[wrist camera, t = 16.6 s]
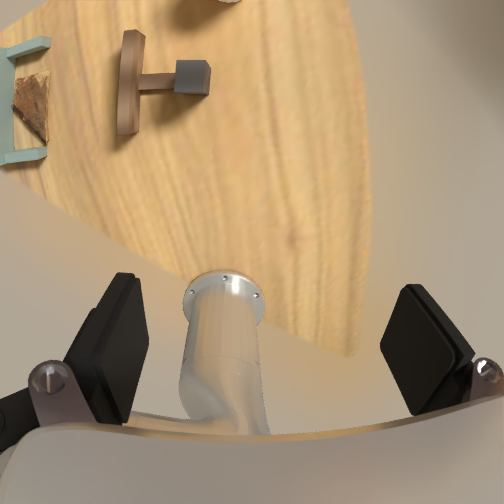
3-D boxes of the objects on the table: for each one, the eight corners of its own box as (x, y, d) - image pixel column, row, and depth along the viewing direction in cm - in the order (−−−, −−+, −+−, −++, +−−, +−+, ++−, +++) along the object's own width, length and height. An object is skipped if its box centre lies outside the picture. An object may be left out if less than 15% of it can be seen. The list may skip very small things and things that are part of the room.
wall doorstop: (206, 131, 35) (200, 136, 30) (128, 131, 34) (108, 137, 29) (214, 33, 30) (210, 19, 24) (134, 37, 29) (116, 26, 23)
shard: (51, 143, 34) (45, 145, 33) (16, 147, 34) (9, 149, 32) (54, 71, 30) (47, 70, 28) (17, 79, 29) (10, 80, 27)
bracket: (47, 156, 35) (23, 165, 29) (8, 160, 34) (-15, 170, 29) (51, 38, 27) (28, 32, 21) (10, 51, 26) (-13, 50, 21)
